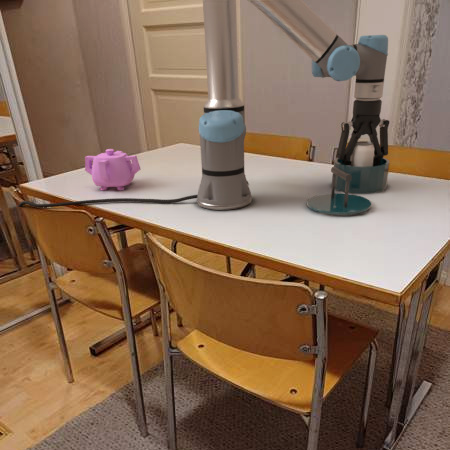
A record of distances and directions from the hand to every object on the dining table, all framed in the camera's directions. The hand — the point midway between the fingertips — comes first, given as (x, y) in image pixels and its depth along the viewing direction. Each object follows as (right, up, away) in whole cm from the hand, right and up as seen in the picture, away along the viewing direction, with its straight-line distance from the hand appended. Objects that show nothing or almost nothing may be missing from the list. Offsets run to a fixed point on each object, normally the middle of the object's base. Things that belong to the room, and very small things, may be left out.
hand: (359, 181), depth 139 cm
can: (0, -1, +1) cm, 1 cm away
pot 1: (-76, +1, +11) cm, 77 cm away
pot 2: (0, -1, +1) cm, 1 cm away
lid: (-10, -10, -16) cm, 21 cm away
